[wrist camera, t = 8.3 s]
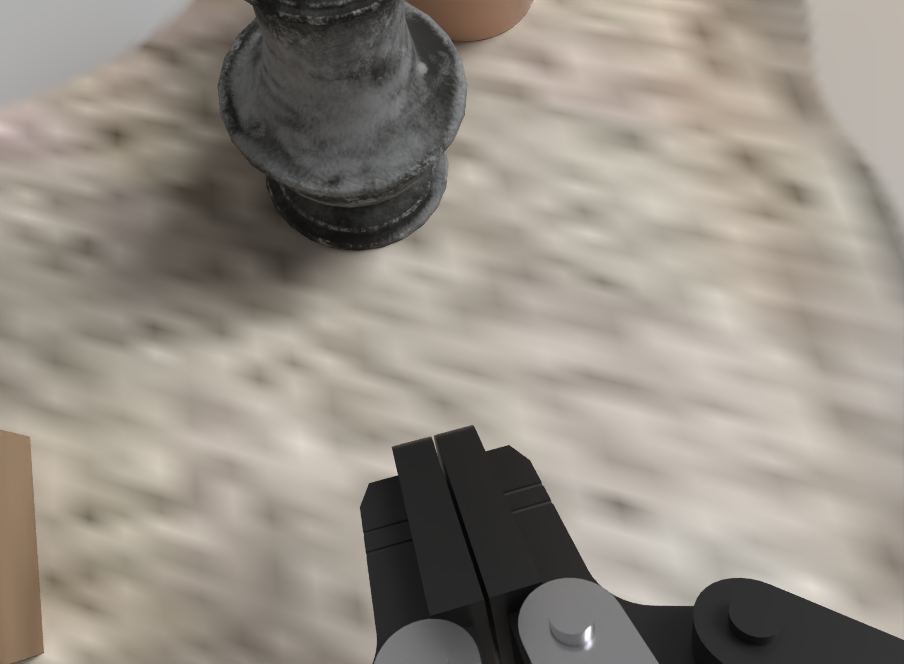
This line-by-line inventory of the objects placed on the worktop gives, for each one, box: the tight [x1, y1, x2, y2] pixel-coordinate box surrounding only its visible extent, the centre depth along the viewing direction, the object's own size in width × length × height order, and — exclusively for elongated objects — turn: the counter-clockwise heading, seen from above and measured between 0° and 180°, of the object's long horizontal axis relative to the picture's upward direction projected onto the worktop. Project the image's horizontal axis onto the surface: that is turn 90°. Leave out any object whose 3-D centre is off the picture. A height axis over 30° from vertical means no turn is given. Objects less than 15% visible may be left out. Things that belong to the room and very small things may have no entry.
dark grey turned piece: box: [218, 0, 467, 250], centre depth 12 cm, size 6×6×12 cm
